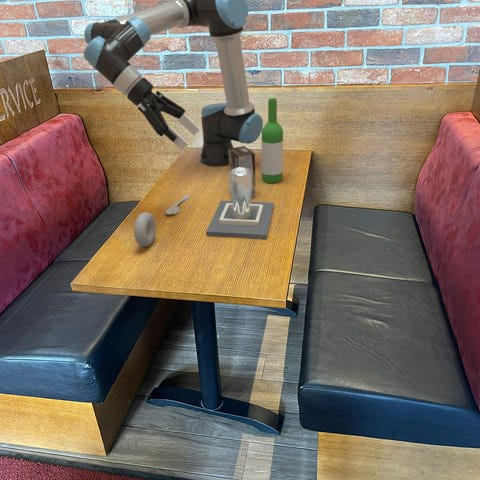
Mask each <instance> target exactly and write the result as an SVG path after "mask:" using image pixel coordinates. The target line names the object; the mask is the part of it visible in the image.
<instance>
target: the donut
mask: <svg viewBox="0 0 480 480" xmlns="http://www.w3.org/2000/svg"><path fill="white" fill-rule="evenodd" d="M133 227H134V228H133V235H134V239H135V242H136V244H137V245H138V246H140V247H141V248H146V247H149V246H150V245H151V244H152V243H153V241H154V240H155V237H156V230H157V226H156V221H155V217H154V216H153V215H152V214H151V212H146V211H145V212H141V213H140V214H139V215H138V216H137V218H136V220H135V223H134V226H133Z"/></svg>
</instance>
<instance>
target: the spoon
mask: <svg viewBox="0 0 480 480" xmlns="http://www.w3.org/2000/svg"><path fill="white" fill-rule="evenodd" d="M188 198H190V194H186V195H185V194H184V196H183V197H182V198H181V199H180V200H179V201H177V202H176V203H175V204H174V205H172V206H170V207H169V208H168V209H167V210H166V211H165V215H175V214H178V213H179V212H180V208H179V206H178V205H180V204H181V203H182V202H184V201H185V200H187V199H188Z"/></svg>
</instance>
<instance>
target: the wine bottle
mask: <svg viewBox="0 0 480 480" xmlns="http://www.w3.org/2000/svg"><path fill="white" fill-rule="evenodd" d="M277 101H278V100H277V98H268V102H267V103H268V105H267V107H268V109H267V111H268V113H267V120H268V121H267V123H265V125H263V128H262V131H261V178H262V181H263V182H265V183H267V184H277V183H279V182H281V181H282V180H283V171H284V170H283V168H284V165H283V164H284V130H283V127H282V125H281V124H280V123H279V122H278V121H277V120H278V119H277V117H278V115H277V113H278V107H277V105H278V104H277V103H278V102H277Z"/></svg>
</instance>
